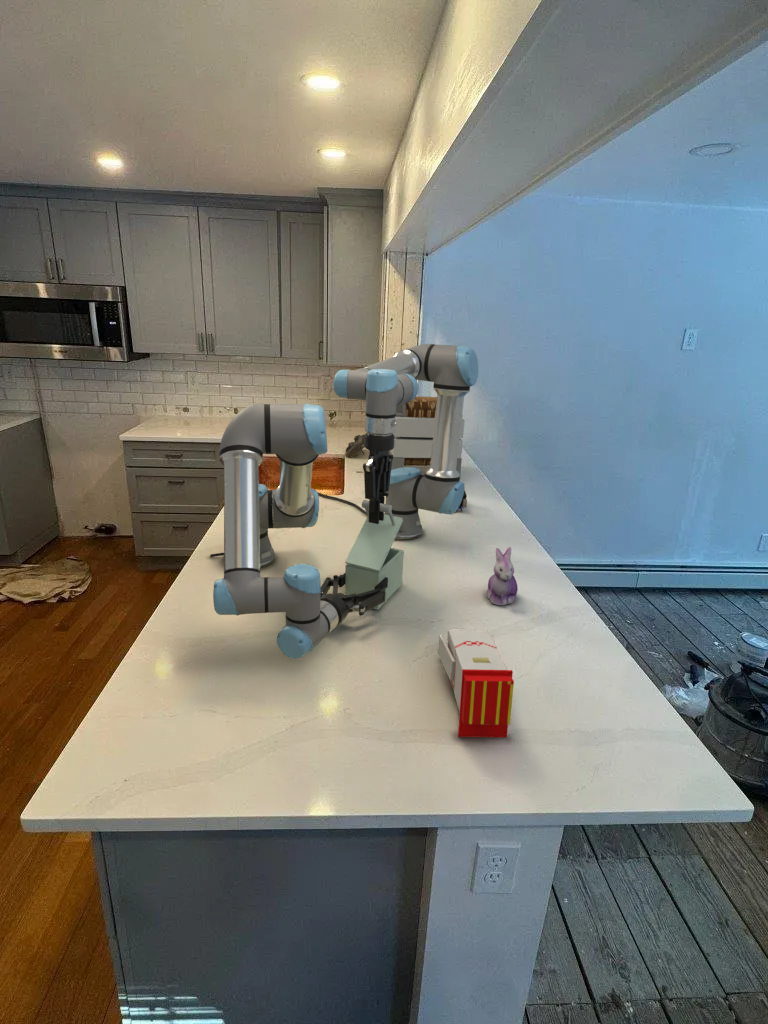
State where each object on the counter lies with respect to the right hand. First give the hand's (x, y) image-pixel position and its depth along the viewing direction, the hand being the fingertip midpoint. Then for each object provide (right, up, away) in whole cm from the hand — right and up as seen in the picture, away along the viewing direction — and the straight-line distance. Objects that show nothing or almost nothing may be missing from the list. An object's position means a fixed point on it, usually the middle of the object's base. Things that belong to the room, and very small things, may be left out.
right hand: (376, 520), depth 150 cm
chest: (-1, -20, +8) cm, 22 cm away
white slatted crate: (+19, +21, +125) cm, 129 cm away
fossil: (-13, +34, +156) cm, 160 cm away
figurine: (+35, -22, +8) cm, 42 cm away
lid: (0, -6, +2) cm, 6 cm away
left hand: (-2, -15, +3) cm, 16 cm away
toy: (+20, -35, -31) cm, 51 cm away
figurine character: (+31, +4, +80) cm, 86 cm away
